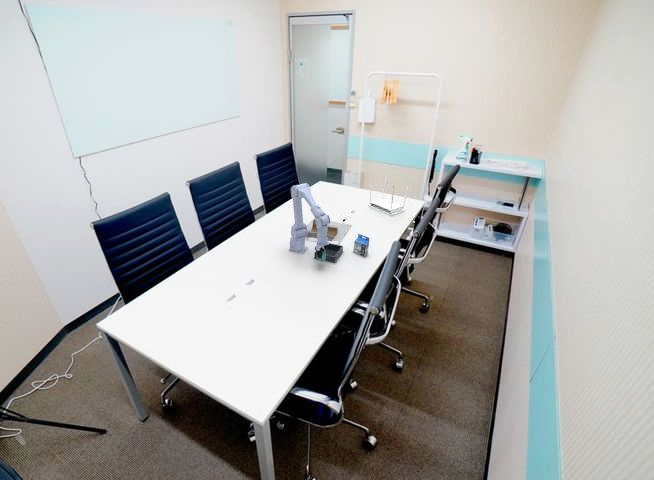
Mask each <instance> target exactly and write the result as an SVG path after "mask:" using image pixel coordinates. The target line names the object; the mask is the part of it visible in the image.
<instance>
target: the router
mask: <svg viewBox="0 0 654 480" xmlns="http://www.w3.org/2000/svg"><path fill="white" fill-rule="evenodd" d="M384 179H385V181H384V185H383V191H382V196H381V198H380V199H377V200H374V201H372V190H373V189H372V186H373V178H370V192H369V205H368V207H369V208H372V209H374V210H377V211H379V212H381V213H383V214H386V215H388V216H391V217H392V216H395V215H397V214H400V213H402V212H405V209H404V208H405V204H406V199H407V195H408V190H409V186H410V182H411V181H407V186H406V191H405V196H404V200H403V204H400V203H397V202H394V194H395V192H394V191H395V185H393V186H392V192H391V193H392V194H391V200H388V199H386V198H384V196H385V195H384V194H385V190H386V186H387V185H386V184H387V179H388V174H386V175H385V178H384Z"/></svg>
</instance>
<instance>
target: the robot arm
mask: <svg viewBox="0 0 654 480" xmlns="http://www.w3.org/2000/svg"><path fill="white" fill-rule="evenodd" d="M290 195H291V199H292V205H293V216H294V224H293V225H292V226H291V227H290V229H291V230H290V235H291V236H290V238H289V251H291V252H295V253H299V254H304V253H305V252H306V250H307V249H308V247H307V246H306V240H305V237H306V236H307V235H308V229H307V226H308V225H307V224H306V223H304V215H303V202H302V199H304V201H305V202H306V203H307V204H308V205H309V208H310V212H311V214H312V216H313V217H314V218H315V219H316V220H315V221H316V225H317V238H316V246H315V247H314V250H315V252H317V256H318V258H322V255H323V251H324V249H323V248H322V247H323V246H324V248H325V250H326V248H327V246H328V244H329V243H330V242H328V237H327V231H328V224H330V222H331V217H330V215H329V214H328V213H326V212H324V211H323V209H322V208H321V206H320V204H318V203H316V201H315V199H314V197H313V194H312V193H311V187H310V185H309V183H307V182H304V183H301V184H295V185H292V186H291V187H290Z"/></svg>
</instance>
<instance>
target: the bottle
mask: <svg viewBox="0 0 654 480" xmlns="http://www.w3.org/2000/svg"><path fill="white" fill-rule="evenodd" d="M322 248H323V249H324V251H323V255H322V258H318V256H317V259H316V260H317V261H318V262H326V261H325V260H326V250H325V248H324V246H323V247H322Z"/></svg>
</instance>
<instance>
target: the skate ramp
mask: <svg viewBox="0 0 654 480" xmlns="http://www.w3.org/2000/svg"><path fill="white" fill-rule="evenodd" d="M315 220H316V219H315V217H314V218H313V220H312V221H311V222H310V223H309V224H308V225H307V229H308V235H307V236H306V237H305V241H309V239H311V238H314V239H317V225H316V221H315ZM350 228H351V224H346V223H341V222H335V221H330V224H328V231H327V237H328V240H327V242H328V241H330V242H332V241H336V242H341V241H342V239H343V238H344V236H345V235H346V233H347V232H348V230H349V229H350Z"/></svg>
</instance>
